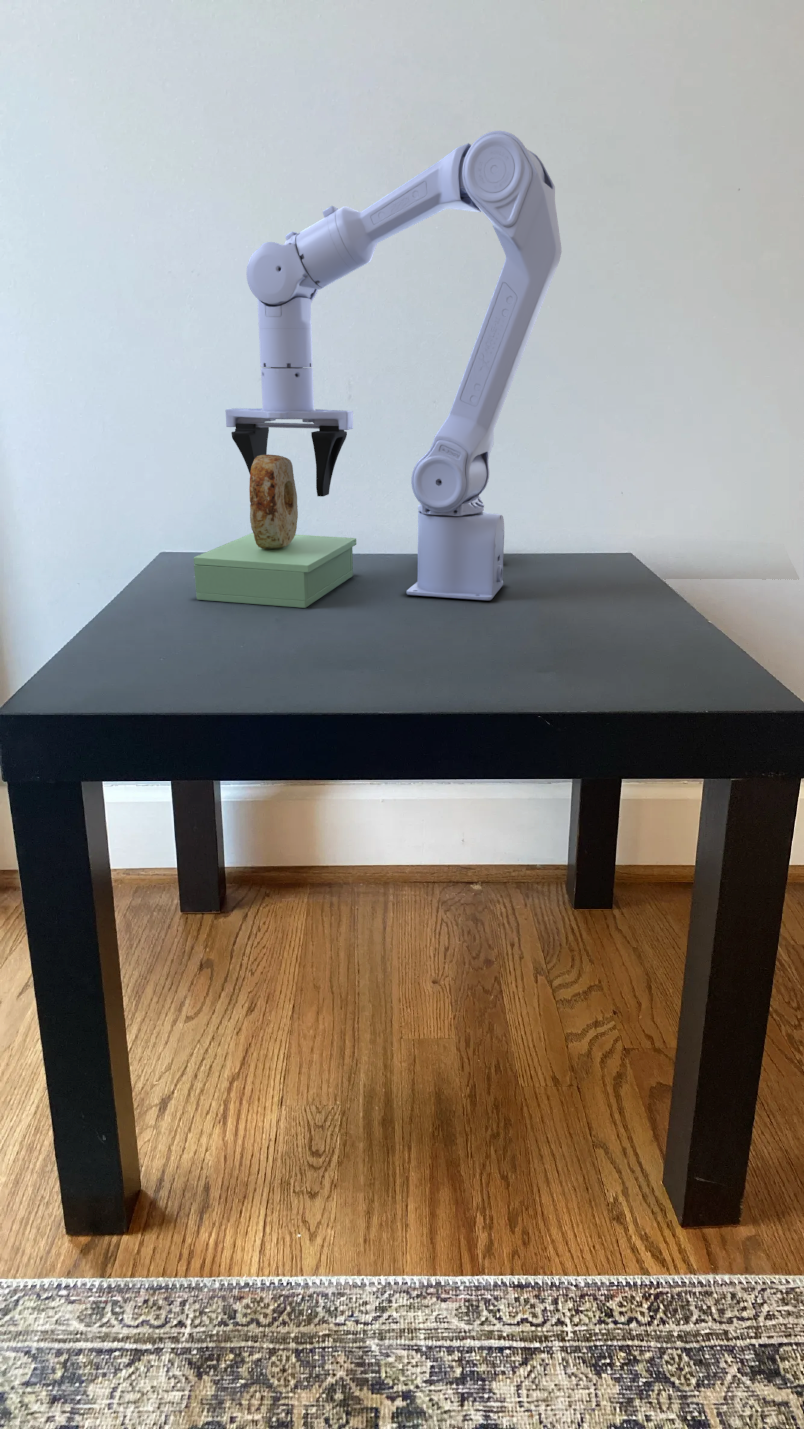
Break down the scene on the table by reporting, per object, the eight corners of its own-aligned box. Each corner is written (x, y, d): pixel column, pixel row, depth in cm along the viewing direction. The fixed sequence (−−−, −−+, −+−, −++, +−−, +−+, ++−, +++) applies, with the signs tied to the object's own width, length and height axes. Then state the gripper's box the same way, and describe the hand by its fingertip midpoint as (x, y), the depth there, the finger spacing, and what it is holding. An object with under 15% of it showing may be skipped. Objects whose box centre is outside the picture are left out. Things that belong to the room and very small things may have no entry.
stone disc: (280, 556, 101) (276, 460, 97) (246, 555, 101) (241, 459, 97) (304, 538, 110) (301, 450, 106) (273, 537, 111) (269, 449, 107)
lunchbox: (353, 576, 113) (352, 544, 111) (305, 608, 99) (304, 572, 97) (256, 569, 116) (254, 538, 114) (196, 599, 102) (193, 565, 100)
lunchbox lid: (356, 544, 111) (356, 537, 111) (308, 572, 97) (308, 565, 97) (254, 538, 114) (254, 531, 114) (193, 564, 100) (193, 557, 100)
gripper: (210, 367, 101) (218, 496, 106) (337, 368, 98) (340, 501, 103) (238, 366, 108) (244, 487, 113) (358, 367, 104) (360, 492, 109)
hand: (291, 493), depth 108 cm, fingers open, 7 cm apart
